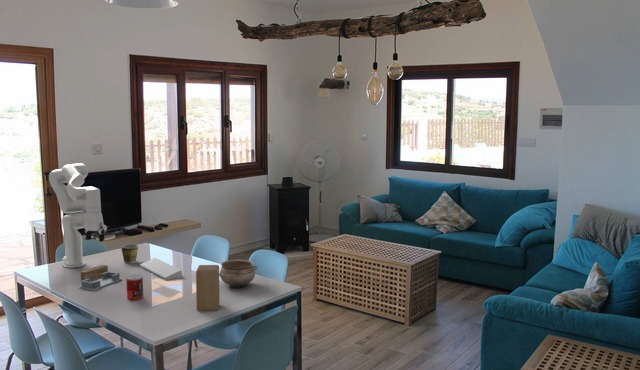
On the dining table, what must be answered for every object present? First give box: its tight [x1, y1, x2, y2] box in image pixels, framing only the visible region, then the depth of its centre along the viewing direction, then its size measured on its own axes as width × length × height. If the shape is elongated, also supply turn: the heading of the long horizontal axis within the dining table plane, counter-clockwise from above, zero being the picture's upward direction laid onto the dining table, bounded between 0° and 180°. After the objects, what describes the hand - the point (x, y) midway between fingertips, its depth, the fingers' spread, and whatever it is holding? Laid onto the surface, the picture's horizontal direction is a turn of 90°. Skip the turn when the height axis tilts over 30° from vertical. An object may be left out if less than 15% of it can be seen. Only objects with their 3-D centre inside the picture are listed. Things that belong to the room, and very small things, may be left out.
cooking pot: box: [219, 258, 258, 288], centre depth 303 cm, size 25×19×12 cm
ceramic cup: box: [120, 244, 139, 264], centre depth 347 cm, size 13×10×10 cm
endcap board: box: [78, 270, 123, 291], centre depth 303 cm, size 10×21×4 cm, turn 158°
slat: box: [80, 264, 109, 281], centre depth 316 cm, size 4×16×5 cm, turn 157°
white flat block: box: [139, 257, 184, 281], centre depth 327 cm, size 34×5×10 cm
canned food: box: [126, 274, 144, 301], centre depth 281 cm, size 8×8×11 cm
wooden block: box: [195, 264, 220, 312], centre depth 268 cm, size 10×10×20 cm
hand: (95, 240), depth 314 cm, fingers open, 9 cm apart
